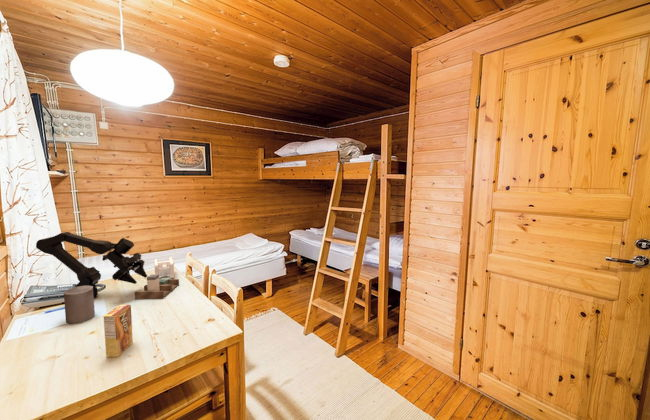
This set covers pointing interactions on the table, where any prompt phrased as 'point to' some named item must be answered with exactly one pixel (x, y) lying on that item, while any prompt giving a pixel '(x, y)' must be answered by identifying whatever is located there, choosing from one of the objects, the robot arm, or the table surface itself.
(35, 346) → the table surface
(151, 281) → the tan lidded canister
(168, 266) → the cable organizer
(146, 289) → the brown compartment tray
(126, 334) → the candy box
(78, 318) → the pillar candle
